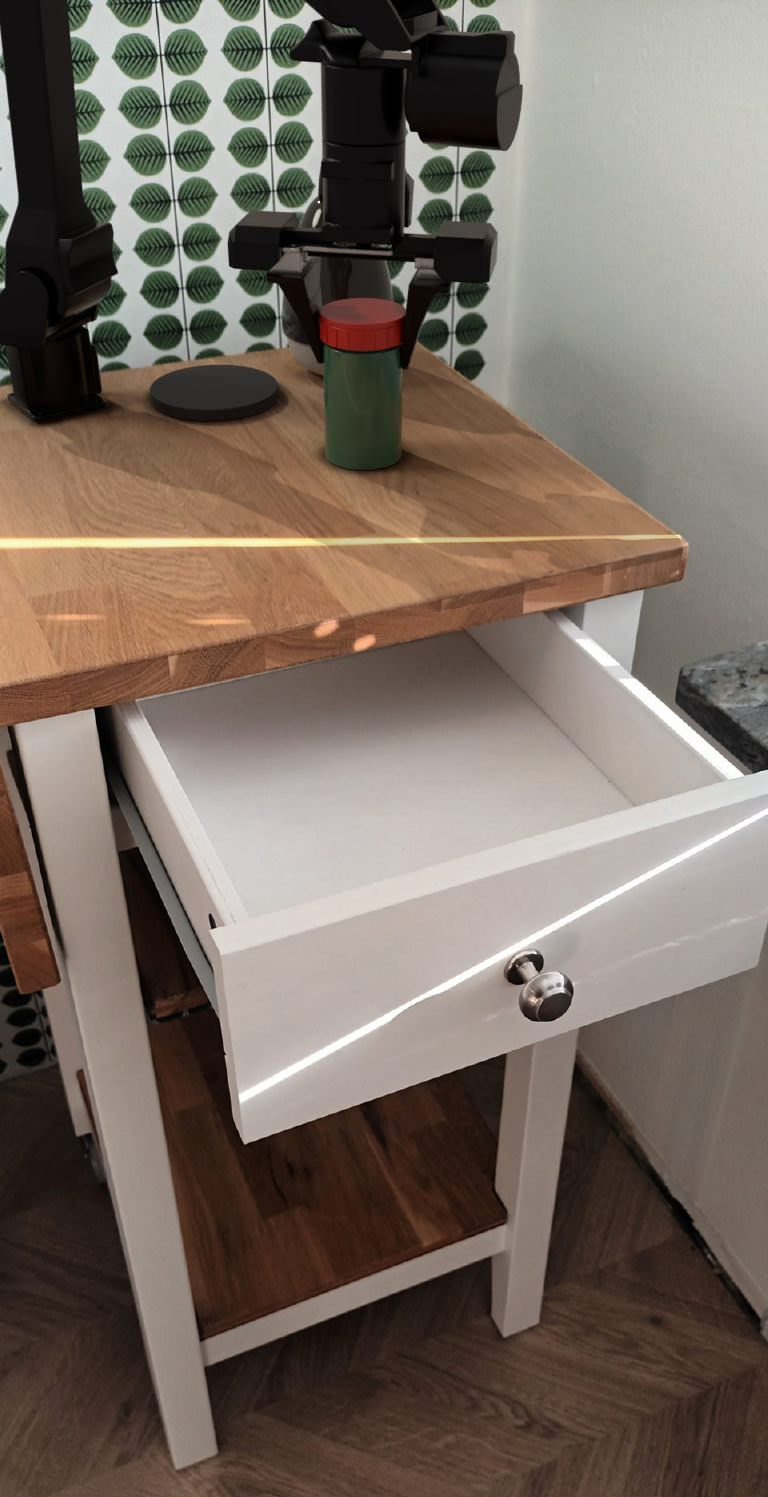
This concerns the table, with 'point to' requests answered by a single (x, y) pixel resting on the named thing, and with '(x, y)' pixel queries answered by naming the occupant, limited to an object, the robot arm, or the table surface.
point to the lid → (362, 324)
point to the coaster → (214, 392)
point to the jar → (363, 407)
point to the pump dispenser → (334, 288)
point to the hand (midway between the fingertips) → (363, 365)
